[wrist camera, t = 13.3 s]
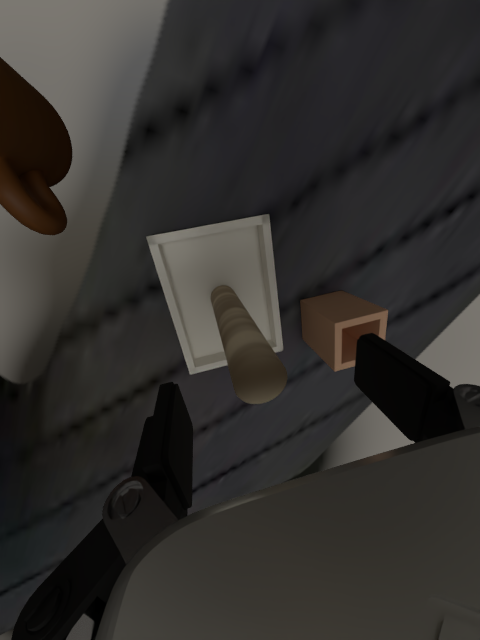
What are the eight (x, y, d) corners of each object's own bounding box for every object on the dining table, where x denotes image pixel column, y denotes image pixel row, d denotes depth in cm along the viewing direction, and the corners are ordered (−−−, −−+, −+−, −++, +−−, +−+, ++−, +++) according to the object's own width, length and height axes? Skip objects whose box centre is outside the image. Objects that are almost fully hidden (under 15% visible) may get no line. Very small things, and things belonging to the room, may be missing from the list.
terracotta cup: (300, 300, 30) (334, 323, 23) (341, 290, 31) (388, 310, 23) (302, 339, 32) (334, 371, 25) (340, 329, 33) (382, 358, 26)
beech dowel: (208, 288, 26) (228, 366, 11) (233, 282, 26) (284, 351, 12) (213, 312, 27) (238, 409, 13) (237, 306, 28) (289, 395, 13)
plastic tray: (151, 235, 24) (146, 236, 21) (260, 215, 25) (269, 213, 22) (190, 361, 30) (190, 374, 28) (275, 339, 32) (283, 350, 29)
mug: (127, 213, 23) (88, 204, 14) (61, 250, 23) (-16, 265, 14) (25, 60, 18) (-132, -98, 9) (-59, 109, 18) (-293, -1, 9)
